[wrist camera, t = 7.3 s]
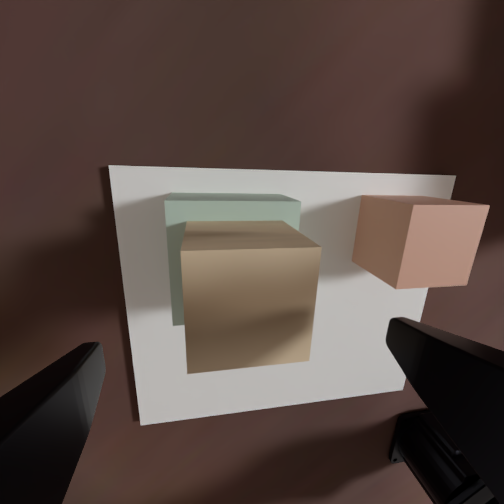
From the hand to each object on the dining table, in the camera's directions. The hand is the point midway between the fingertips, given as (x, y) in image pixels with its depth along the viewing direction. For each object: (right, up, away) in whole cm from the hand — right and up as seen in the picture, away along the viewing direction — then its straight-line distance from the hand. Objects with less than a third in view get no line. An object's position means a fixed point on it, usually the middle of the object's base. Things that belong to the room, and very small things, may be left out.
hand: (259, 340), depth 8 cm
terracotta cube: (+10, +4, +12) cm, 16 cm away
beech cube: (-1, +2, +7) cm, 7 cm away
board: (+3, -1, +13) cm, 14 cm away
